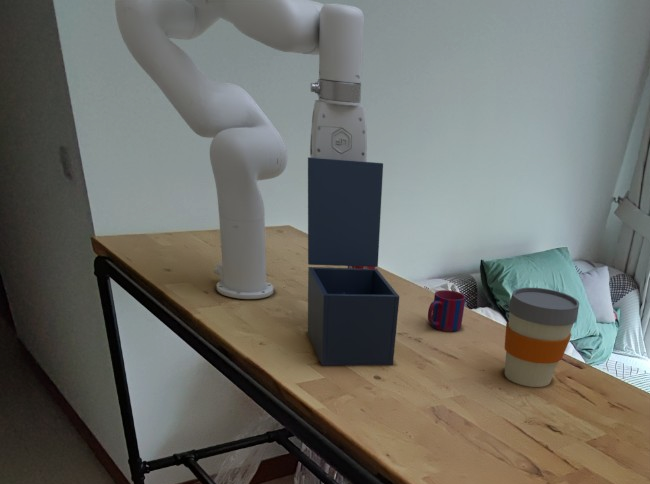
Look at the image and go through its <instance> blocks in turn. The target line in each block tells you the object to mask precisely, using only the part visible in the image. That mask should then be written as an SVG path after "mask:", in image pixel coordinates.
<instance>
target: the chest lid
mask: <svg viewBox="0 0 650 484" xmlns="http://www.w3.org/2000/svg"><path fill="white" fill-rule="evenodd" d="M383 174H384V163H383V162H375V161H373V162H372V161H366V162H362V161H349V160H336V159H323V158H311V156H310V157H307V265H308V266H337V267H342V266H343V267H348V266H366V267H377V268H378V267H379V251H380V233H381V232H380V231H381V216H382V215H381V214H382V196H383V195H382V192H383V176H384V175H383Z"/></svg>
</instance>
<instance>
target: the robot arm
mask: <svg viewBox="0 0 650 484" xmlns="http://www.w3.org/2000/svg"><path fill="white" fill-rule="evenodd" d="M114 6H115V17H116V22H117V27H118V30H119V33H120V35H121V38H122V41H123V43H124V44H125V46H126V48H127V50H128V52H129V53H130V54H131V56H132V58H133V59H134V60H135V61H136V63H137V64H138V65H139V66H140V67H141V69H142V70H143V71H144V72H145V73H146V75H148V77H150V78H151V80H152V81H153V83H155V84H156V86H157V87H158V88H159V90H161V91H162V93H163V94H164V97H166V99H167V100H168V101H169V102H170V104H171V105H172V107H173V108H174V109H175V110H176V111H177V113H178V114H179V115H180V117H181V118H182V119H183V120H184V122H185V124H186V125H187V126H188V127H189V129H190V130H191V131H193V132H194V133H195V134H196V135H197V136H199V137H202V138H207V139H208V138H209V139H210V138H211V139H212V140H211V143H210V147H209V159H210V165H211V170H212V173H213V179H214V182H215V188H216V196H217V197H216V198H217V206H218V209H217V210H218V218H219V219H218V220H219V221H218V222H219V235H220V251H221V262H219V263H218V264H217V265H216V266H215V267H214V268H213V269H212V271H213V273H214V274H216V275H217V276H218V275H219V281H218V282H217V283H216V291H217V292H218V293H219V294H221V295H223V296H226V297H229V298H231V299H232V298H233V299H238V300H239V299H240V300H258V299H264V298H268V297H270V296H272V295H273V294H274V285H273V284H271V283H270V282H268V281H267V260H266V259H267V258H266V257H267V255H266V253H267V252H266V250H267V249H266V220H265V216H266V215H265V214H266V213H265V203H264V199H263V195H262V193H261V191H260V188H259V186H258V185H259V184H258V181H265V180H271V179H275V178H277V177H279V176H281V175H282V174H283V173H284V172H285V170H286V168H287V166H288V159H289V158H288V157H289V156H288V152H287V151H288V150H287V146H286V144H285V141H284V139H283V137H282V136H281V134H280V133H279V130H277V128H276V127H275V126H274V124H273V123H272V122H271V120H270V119H269V118H268V117H267V115H266V114H265V113H264V111H263V110H262V108H261V107H260V106H259V105H258V103H257V102H256V101H255V99H254V98H253V97H252V96H251V95H250V93H249V92H247V90H245V89H244V88H242V87H241V86H239V85H238V84H235V83H234V82H233V83H232V82H226V81H225V82H224V81H214V80H211V79H210V78H208V77H207V76H206V75H205V74H204V72H202V71H201V69H199V68H198V66H197V64H196V62H194V60H193V59H192V58H191V57H190V56H189V54H188V53H186V52H185V50H183V49H182V48H181V47H180V46H178V45H177V44H176V43H175V42H173V41H172V40H171V39H174V40H185V41H186V40H188V41H189V40H194V39H196V38H198V37H200V36H202V35H203V34H204V33H205V32H206V31H208V29H210V28H211V27H212V26H214V24H215V23H216V22H218V21H219V20H220V19H222V20H224V21H226V22H228V23H230V24H232V25H233V26H234V27H235V29H237V30H238V31H239V32H240V33H241V34H243V35H245V36H246V37H248V38H250V39H253V40H254V41H256V42H258V43H261V44H263V45H265V46H267V47H269V48H271V49H274V50H276V51H279V52H283V53H294V54H302V55H311V56H318V59H319V60H318V79H317V81H315V82H311V83H310V92H311V93H314V94H316V95H317V97H318V99H316V100H314V104H313V111H312V117H311V127H310V128H311V129H310V141H309V142H310V145H309V154H310V155H309V156H310V158H323V159H336V160H349V161H362V162H367V160H368V159H367V157H368V133H367V131H368V128H367V115H366V114H367V113H366V105H363V104H361V97H362V80H363V79H362V77H363V75H362V74H363V59H364V58H363V56H364V35H365V16H364V13H363V11H362V9H361V8H359V7H357V6H353V5H349V4H343V3H342V4H341V3H325V4H324V3H323V2H319V1H316V0H115V2H114Z"/></svg>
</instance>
